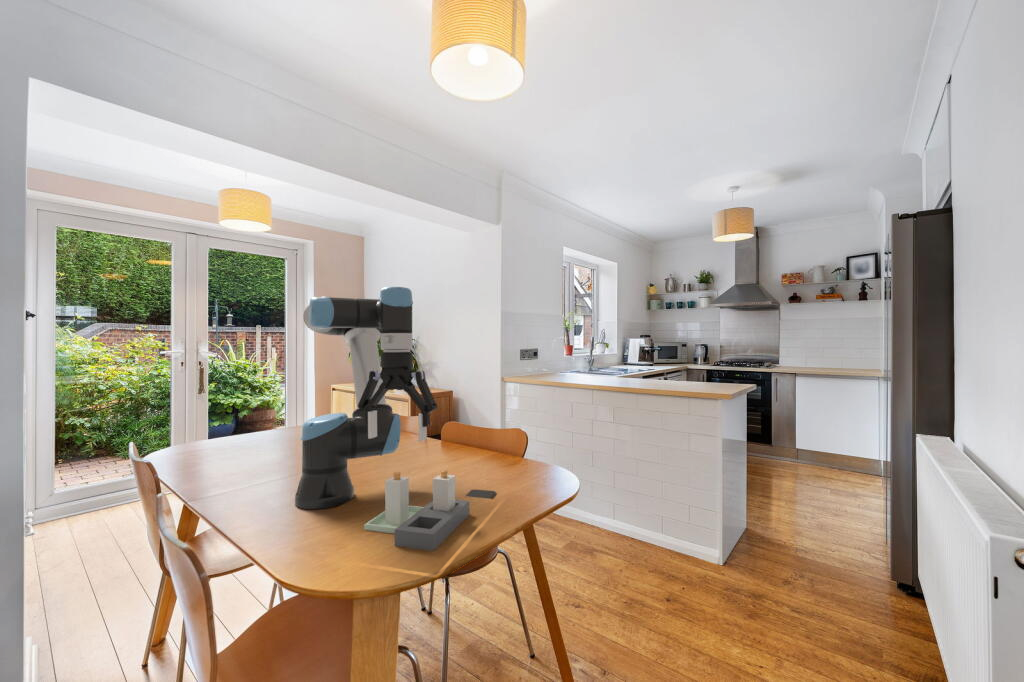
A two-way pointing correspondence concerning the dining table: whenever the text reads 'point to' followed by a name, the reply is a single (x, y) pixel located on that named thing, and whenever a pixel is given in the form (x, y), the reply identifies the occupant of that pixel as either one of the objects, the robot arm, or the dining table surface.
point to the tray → (381, 526)
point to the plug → (396, 499)
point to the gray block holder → (434, 517)
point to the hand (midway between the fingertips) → (397, 439)
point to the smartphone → (481, 494)
